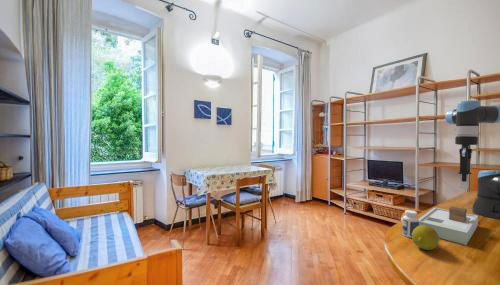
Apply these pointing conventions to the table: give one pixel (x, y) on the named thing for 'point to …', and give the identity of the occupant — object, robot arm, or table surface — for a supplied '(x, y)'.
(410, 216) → the pill bottle
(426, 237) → the lemon
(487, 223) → the table surface
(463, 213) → the walnut block
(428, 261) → the table surface
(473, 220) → the board
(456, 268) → the table surface
